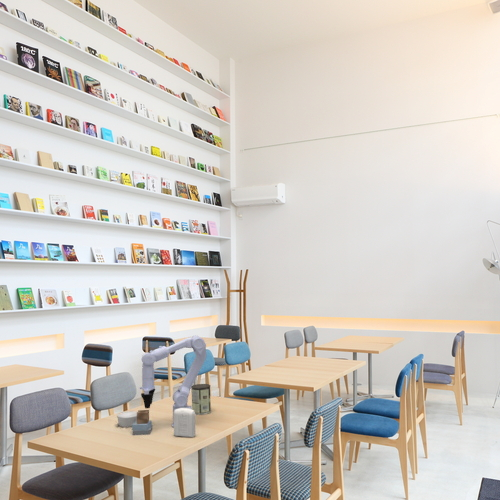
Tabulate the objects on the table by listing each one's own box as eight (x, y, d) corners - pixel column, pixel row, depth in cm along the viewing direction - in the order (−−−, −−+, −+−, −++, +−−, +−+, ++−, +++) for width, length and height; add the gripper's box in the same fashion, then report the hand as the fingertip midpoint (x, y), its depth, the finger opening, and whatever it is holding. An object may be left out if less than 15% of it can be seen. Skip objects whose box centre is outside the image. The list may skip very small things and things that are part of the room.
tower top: (151, 425, 228) (151, 420, 228) (146, 430, 221) (146, 424, 221) (137, 425, 228) (137, 420, 229) (132, 430, 222) (132, 424, 222)
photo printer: (197, 435, 218) (196, 407, 219) (193, 438, 214) (192, 409, 215) (176, 433, 221) (176, 406, 222) (172, 436, 217) (172, 408, 218)
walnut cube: (149, 420, 228) (149, 409, 228) (147, 423, 223) (147, 412, 223) (138, 421, 227) (138, 410, 228) (136, 424, 222) (136, 413, 223)
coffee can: (199, 408, 264) (199, 383, 265) (214, 411, 258) (214, 384, 259) (187, 413, 255) (187, 386, 256) (203, 415, 250) (202, 388, 251)
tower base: (152, 430, 229) (152, 425, 229) (150, 435, 221) (150, 430, 221) (135, 431, 228) (135, 425, 228) (132, 436, 220) (132, 431, 220)
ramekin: (134, 428, 231) (134, 417, 231) (112, 427, 233) (112, 416, 234) (143, 421, 242) (143, 411, 242) (123, 421, 244) (123, 410, 245)
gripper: (141, 375, 239) (142, 402, 238) (137, 381, 225) (137, 410, 224) (156, 374, 240) (156, 402, 239) (152, 380, 225) (153, 409, 224)
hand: (148, 406), depth 231 cm, fingers open, 7 cm apart
